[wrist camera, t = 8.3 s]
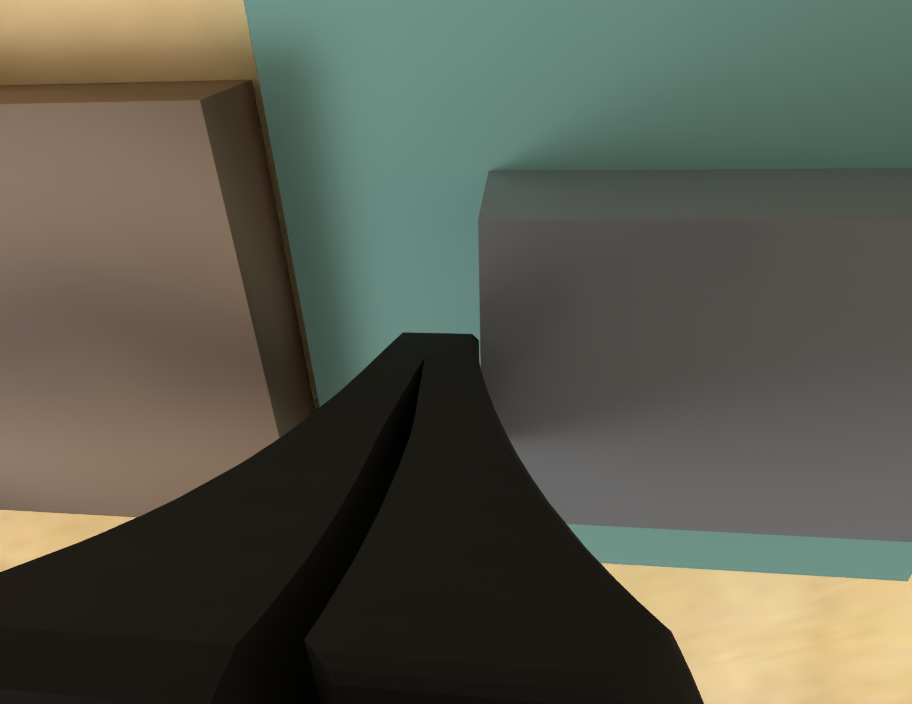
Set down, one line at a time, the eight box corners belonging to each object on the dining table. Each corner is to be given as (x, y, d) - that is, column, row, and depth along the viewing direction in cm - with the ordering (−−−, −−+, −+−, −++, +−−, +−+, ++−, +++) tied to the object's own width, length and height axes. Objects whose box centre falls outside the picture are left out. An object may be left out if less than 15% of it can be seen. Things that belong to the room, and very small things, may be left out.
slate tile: (968, 455, 13) (1053, 549, 11) (490, 436, 14) (483, 519, 12) (1116, 166, 10) (1277, 219, 8) (488, 171, 11) (478, 219, 9)
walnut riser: (325, 466, 16) (300, 526, 14) (-70, 448, 17) (-137, 501, 15) (251, 80, 11) (199, 100, 9) (-289, 92, 12) (-422, 112, 10)
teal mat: (899, 568, 15) (907, 581, 15) (349, 535, 17) (345, 547, 17) (1261, -152, 8) (1292, -157, 8) (236, -96, 10) (225, -98, 9)
